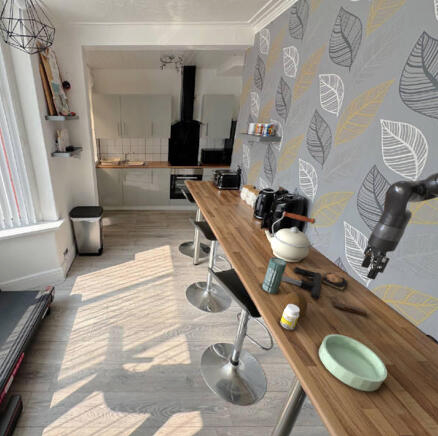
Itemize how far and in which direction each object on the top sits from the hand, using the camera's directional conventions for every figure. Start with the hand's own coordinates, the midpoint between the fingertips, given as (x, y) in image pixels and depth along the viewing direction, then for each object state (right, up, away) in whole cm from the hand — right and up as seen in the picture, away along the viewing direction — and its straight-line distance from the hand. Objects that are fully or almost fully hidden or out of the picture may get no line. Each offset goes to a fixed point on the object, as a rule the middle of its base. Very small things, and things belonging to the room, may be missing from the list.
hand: (367, 272), depth 91 cm
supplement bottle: (-33, -19, -3) cm, 38 cm away
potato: (-27, -17, +4) cm, 32 cm away
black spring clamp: (-12, -10, +20) cm, 26 cm away
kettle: (-8, 0, +43) cm, 44 cm away
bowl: (-22, -26, -17) cm, 38 cm away
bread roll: (+4, -10, +22) cm, 24 cm away
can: (-30, -11, +16) cm, 35 cm away
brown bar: (-2, -17, +5) cm, 18 cm away
